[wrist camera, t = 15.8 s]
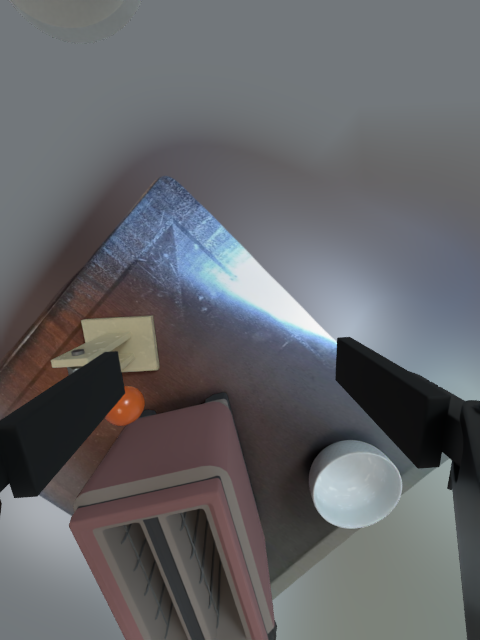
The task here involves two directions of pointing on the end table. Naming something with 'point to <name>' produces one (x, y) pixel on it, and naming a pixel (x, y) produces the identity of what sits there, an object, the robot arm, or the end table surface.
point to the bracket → (116, 343)
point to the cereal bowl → (354, 484)
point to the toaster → (177, 529)
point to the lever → (123, 405)
